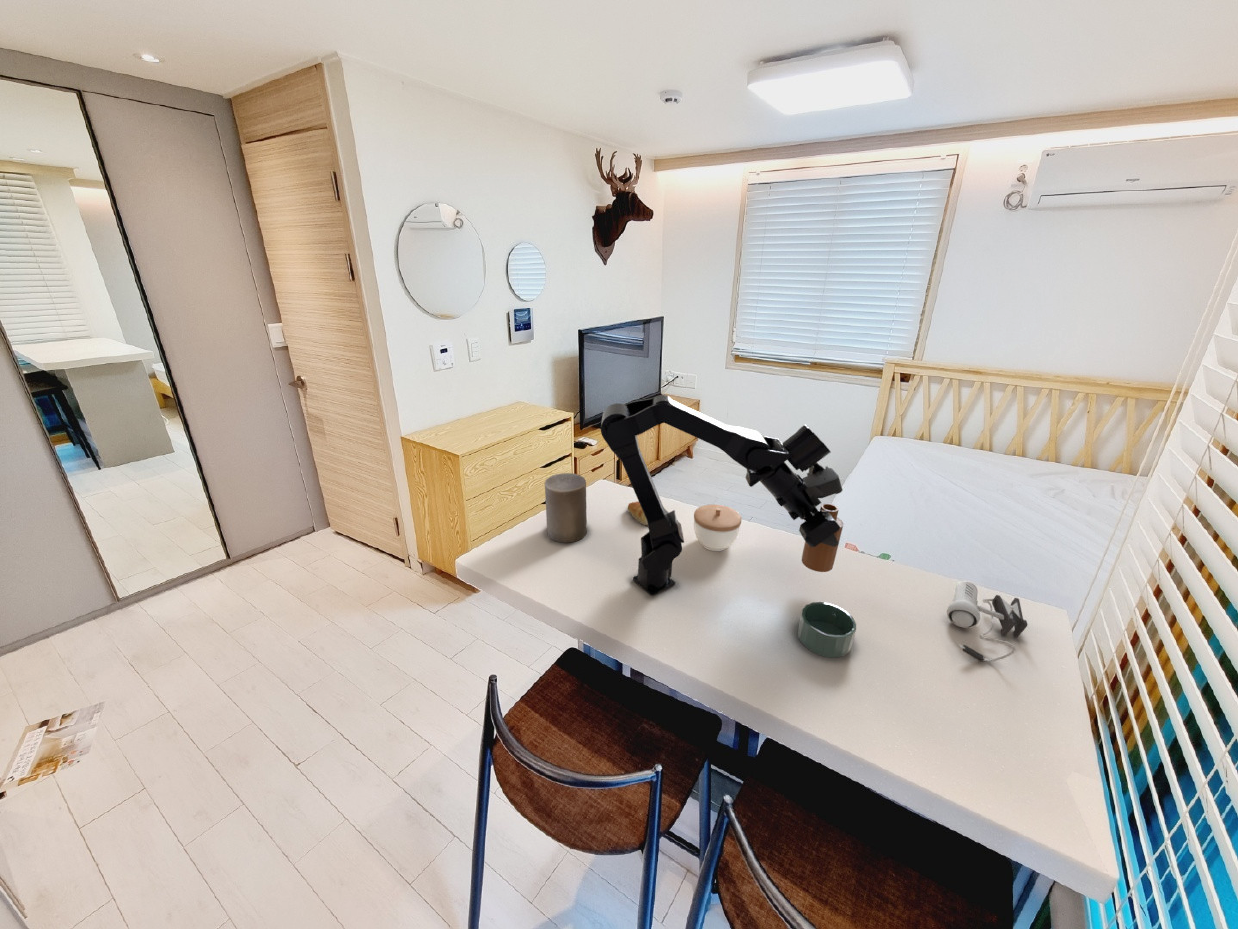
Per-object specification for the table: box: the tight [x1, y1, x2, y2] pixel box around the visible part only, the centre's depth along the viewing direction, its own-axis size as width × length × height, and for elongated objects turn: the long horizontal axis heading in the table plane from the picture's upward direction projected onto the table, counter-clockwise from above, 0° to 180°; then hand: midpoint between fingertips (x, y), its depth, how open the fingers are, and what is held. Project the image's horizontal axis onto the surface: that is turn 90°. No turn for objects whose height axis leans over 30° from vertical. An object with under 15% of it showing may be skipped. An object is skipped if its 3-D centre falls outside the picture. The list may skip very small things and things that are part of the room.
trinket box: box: [693, 503, 742, 552], centre depth 116 cm, size 11×11×9 cm
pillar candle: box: [544, 472, 588, 544], centre depth 118 cm, size 10×10×15 cm
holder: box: [797, 601, 857, 659], centre depth 90 cm, size 9×9×5 cm
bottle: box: [801, 502, 844, 573], centre depth 99 cm, size 6×6×13 cm
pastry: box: [627, 501, 648, 526], centre depth 129 cm, size 9×7×4 cm
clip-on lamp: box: [946, 580, 1028, 662], centre depth 91 cm, size 12×6×18 cm
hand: (830, 536), depth 99 cm, fingers closed on bottle, 6 cm apart
